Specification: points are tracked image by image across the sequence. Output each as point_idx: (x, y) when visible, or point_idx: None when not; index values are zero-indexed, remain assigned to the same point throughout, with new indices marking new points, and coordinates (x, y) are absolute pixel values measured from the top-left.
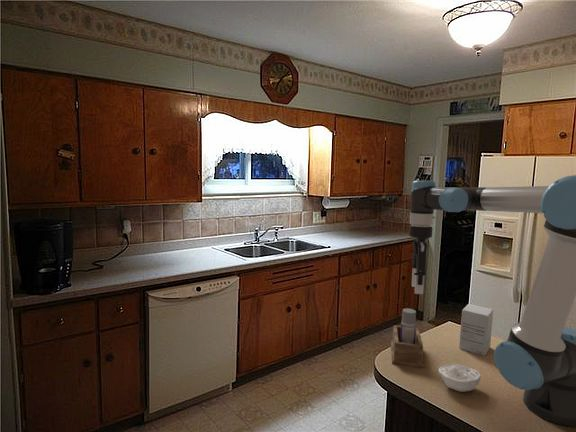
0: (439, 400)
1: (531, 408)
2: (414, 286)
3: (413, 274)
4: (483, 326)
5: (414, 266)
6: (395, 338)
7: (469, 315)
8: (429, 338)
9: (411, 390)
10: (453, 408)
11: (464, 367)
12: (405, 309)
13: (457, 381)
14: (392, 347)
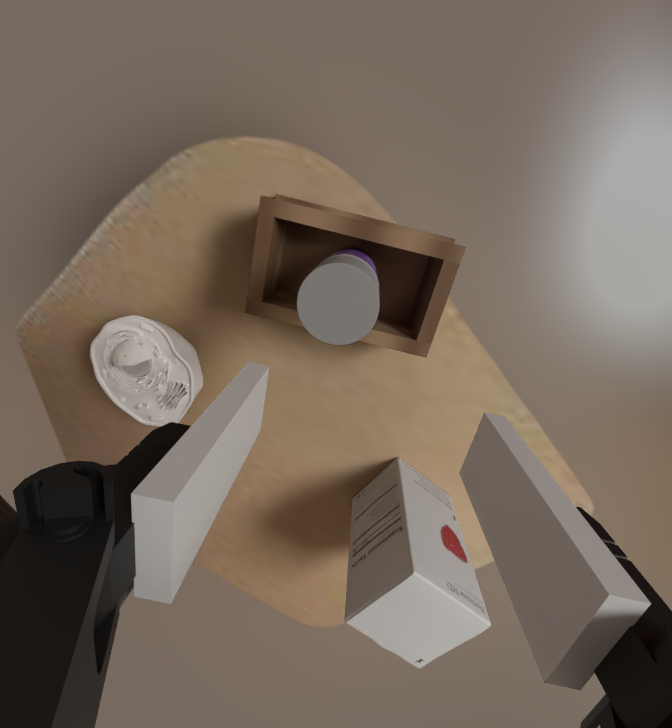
0: (93, 282)
1: (108, 468)
2: (475, 434)
3: (544, 517)
4: (353, 571)
5: (660, 675)
6: (310, 212)
7: (389, 572)
8: (476, 398)
9: (120, 214)
10: (68, 304)
11: (174, 401)
12: (358, 287)
13: (91, 347)
14: (384, 226)
